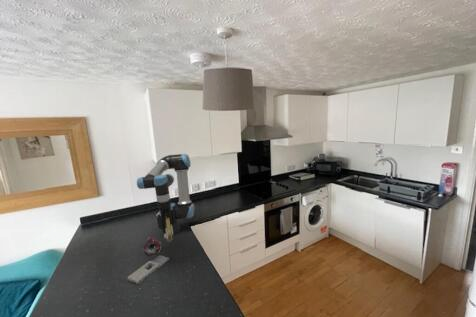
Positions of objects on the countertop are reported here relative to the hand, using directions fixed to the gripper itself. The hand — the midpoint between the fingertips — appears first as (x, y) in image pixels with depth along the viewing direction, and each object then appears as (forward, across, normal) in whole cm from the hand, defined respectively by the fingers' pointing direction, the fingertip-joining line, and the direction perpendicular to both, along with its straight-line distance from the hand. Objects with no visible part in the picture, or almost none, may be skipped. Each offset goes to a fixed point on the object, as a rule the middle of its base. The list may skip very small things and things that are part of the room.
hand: (168, 235), depth 125 cm
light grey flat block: (+18, +15, -9) cm, 25 cm away
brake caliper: (+19, -4, -23) cm, 30 cm away
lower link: (+18, +6, -9) cm, 21 cm away
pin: (+3, 0, 0) cm, 3 cm away
